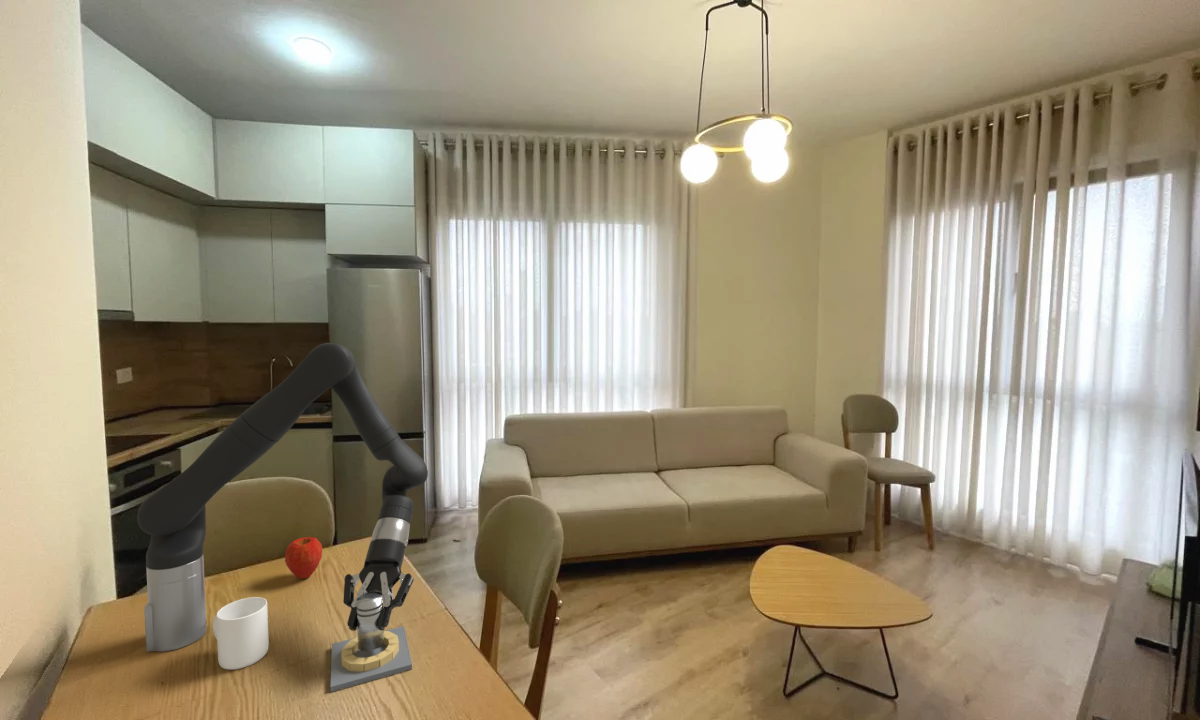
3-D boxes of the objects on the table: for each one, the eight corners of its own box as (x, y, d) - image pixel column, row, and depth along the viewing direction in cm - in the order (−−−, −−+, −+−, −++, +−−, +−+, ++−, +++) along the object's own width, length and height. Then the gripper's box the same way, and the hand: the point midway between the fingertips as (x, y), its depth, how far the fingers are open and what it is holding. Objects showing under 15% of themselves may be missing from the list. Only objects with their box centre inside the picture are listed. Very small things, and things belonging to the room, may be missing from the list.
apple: (291, 589, 127) (290, 548, 126) (281, 578, 132) (279, 538, 132) (327, 577, 133) (326, 538, 132) (316, 567, 139) (315, 529, 138)
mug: (194, 661, 99) (192, 611, 99) (236, 637, 107) (234, 590, 107) (238, 675, 96) (236, 623, 95) (278, 649, 104) (276, 600, 103)
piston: (358, 654, 98) (356, 607, 97) (357, 640, 102) (355, 595, 101) (385, 646, 100) (384, 600, 99) (383, 633, 104) (382, 589, 104)
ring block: (330, 692, 92) (330, 679, 91) (332, 648, 104) (331, 636, 104) (411, 669, 98) (411, 656, 98) (404, 630, 110) (403, 619, 110)
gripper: (349, 537, 107) (322, 625, 96) (417, 536, 107) (398, 624, 96) (360, 550, 112) (336, 634, 101) (425, 549, 113) (408, 633, 102)
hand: (366, 629), depth 99 cm, fingers closed on piston, 5 cm apart
